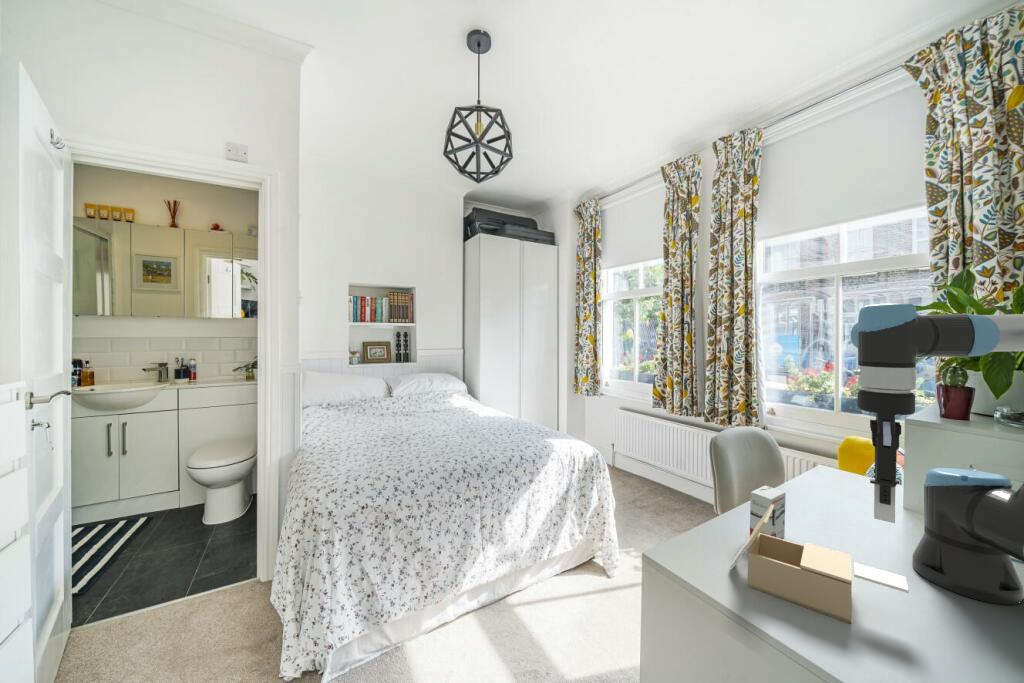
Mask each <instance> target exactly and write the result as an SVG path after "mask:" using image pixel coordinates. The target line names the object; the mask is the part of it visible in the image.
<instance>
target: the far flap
mask: <svg viewBox="0 0 1024 683" xmlns="http://www.w3.org/2000/svg"><path fill="white" fill-rule="evenodd" d="M773 507H774V505H773V504H771V506H770V507H769V508H768V510H767V511H766V513H765V514H764V515H763V517H762V518H761V520H760V521H759V523H758V524H757V525H756V527H755V528H754V530H753V532H752V534H751V535H750V534H749V537H748V538H747V540H746V541H745V542H744V544H743V545H742V547H740V549H739V551H738V552H737V554H736V555H735V557H734V559H733V561H732V563H731V564H730V566H729V568H730V569H731V570H733V569H734V567H735V566H736V565H737V563H738V562H739V560H740V559H741V558H742V556H743V555H744V553H745V552H746V551H749V549H750V548H751V546H752V543H753V541H754V540H755V539H756V537H757V536H758V534H759V533H760V532H761V530H762V529H763V527H764V526H765V525H766V523H767V521H768V519H769V516H770V514H771V512H772V509H773Z"/></svg>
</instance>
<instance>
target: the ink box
mask: <svg viewBox="0 0 1024 683" xmlns="http://www.w3.org/2000/svg"><path fill="white" fill-rule="evenodd" d="M786 496H787V495H786V491H783V490H779V489H777V488H774V487H771V486H769V485H763V486H761V487H759V488H756V489H755V490H752V491H751V492H750V505H749V506H750V509H749V511H750V512H749V536H750V535H751V534H752V532H753V530H754V528H755V527H756V525H757V524H758V523H759V521H760V520H761V518H762V517H763V515H764V514H765V513H766V511H767V510H768V508H769V507H770V506H771V504H773V505H774V507H773V509H772V512H771V514H770V516H769V519H768V521H767V523H766V525H765V526H764V527H763V529H762V530H761V532H760V533H763V534H766V535H770V536H773V537H777V538H780V539H783V538H784V537H785V533H786V532H785V529H786V528H785V526H786Z"/></svg>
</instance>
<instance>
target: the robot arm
mask: <svg viewBox="0 0 1024 683" xmlns="http://www.w3.org/2000/svg"><path fill="white" fill-rule="evenodd" d="M858 312H859V313H858V320H857V322H856V323H855V324H854V325H853V327H852V328H851V331H850V340H851V341H850V342H851V343H852V345H853V346H854V347H855V348H856V349H857V360H858V361H857V365H858V366H857V368H858V369H855V370H853V376H858V377H857V386H859V387H860V389H858V390H857V400H856V401H857V402H856V403H857V408H858V410H861V411H864V412H866V413H867V412H868V413H874V414H875V419H871V418H870V419H869V427H870V432H871V442H872V443H871V444H872V446H873V447H874V468H873V474H874V475H873V478H870V479H869V484H873V488H874V489H873V519H875V520H878V521H883V522H887V523H890V524H891V523H893V524H895V523H896V487H897V485H900V480H899V479H897V457H898V456H897V454H898V453H897V451H898V450H899V449H900V436H901V435H902V424H901V423H900V422H899V421H896V416H898V415H899V416H900V415H901V416H910V415H913V414H915V412H916V395H915V394H914V393H913V392H912V391H914V390H916V388H917V367H916V366H917V363H916V362H917V358H919V357H920V358H921V357H928V358H930V357H933V358H934V357H935V358H944V357H945V358H947V357H948V358H963V359H964V358H969V357H981V356H985V355H987V354H989V353H991V352H993V353H994V352H996V353H998V352H1006V353H1007V352H1024V313H1023V314H1022V313H1020V314H1019V313H1018V314H1017V313H1016V314H1015V313H1014V314H1011V313H1010V314H969V313H957V314H956V313H955V314H923V315H922V314H918V312H917V307H916V305H914V304H912V303H879V304H869V305H865V306H863V307H861V308H860V309H859V311H858ZM924 482H925V483H923V491H924V492H923V494H924V495H923V498H924V499H923V500H924V501H923V502H924V503H923V504H924V505H923V506H924V508H923V509H924V519H923V520H924V521H923V522H924V524H923V525H924V528H923V529H924V530H923V532H924V533H923V534H922V537H921V538H920V540H919V542H918V544H917V546H916V548H915V549H914V550H913V553H912V555H911V556H912V561H911V563H912V564H911V565H912V568H913V569H914V571H915V572H916V573H918V574H919V575H920V576H921V577H923V578H924V579H926V580H928V581H929V582H932V583H933V584H935V585H936V586H939V587H941V588H943V589H946V590H949V591H951V592H952V593H956V594H958V595H962V596H964V597H968V598H971V599H974V600H978V601H983V602H987V603H991V604H997V605H1005V604H1014V605H1018V604H1017V603H1019V602H1021V601H1022V600H1023V601H1024V587H1023V586H1024V585H1023V584H1022V581H1021V579H1020V577H1019V574H1018V572H1017V570H1016V568H1015V565H1014V563H1013V561H1012V559H1011V557H1012V558H1015V559H1016V560H1018V561H1020V562H1023V563H1024V482H1023V483H1022V484H1021V486H1020V487H1019V488H1018V490H1017V491H1016V490H1014V489H1013V484H1012V481H1011V480H1010V478H1009V477H1007V476H1005V475H1002V474H997V473H993V472H987V471H979V470H973V469H965V468H954V467H953V468H951V467H937V468H931V469H929V470H927V472H926V474H925V480H924ZM1023 601H1022V602H1023ZM1022 602H1021V603H1022ZM1019 604H1020V603H1019Z"/></svg>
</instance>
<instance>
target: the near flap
mask: <svg viewBox="0 0 1024 683" xmlns="http://www.w3.org/2000/svg"><path fill="white" fill-rule="evenodd" d="M803 545H804V549H803V554H802V559H801V564H800V567H801V568H804V569H807V570H810V571H814V572H817V573H820V574H823V575H826V576H830V577H833V578H836V579H839V580H842V581H845V582H849V583H852V581H853V580H852V577H853V575H852V572H853V573H854V578H857V579H860V580H863V581H866V582H870V583H873V584H877V585H878V586H879V585H881V586H883V587H886V588H890V589H893V590H897V591H900V592H904V593H906V594H909V592H910V591H909V590H910V589H909V587H908V582H907V577H906V576H904V575H901V574H897V573H894V572H890V571H887V570H883V569H879V568H876V567H873V566H870V565H865V564H862V563H858V562H856V561H853V571H852V554H848V553H845V552H842V551H838V550H835V549H831V548H828V547H824V546H820V545H817V544H814V543H810V542H804V544H803Z"/></svg>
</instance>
